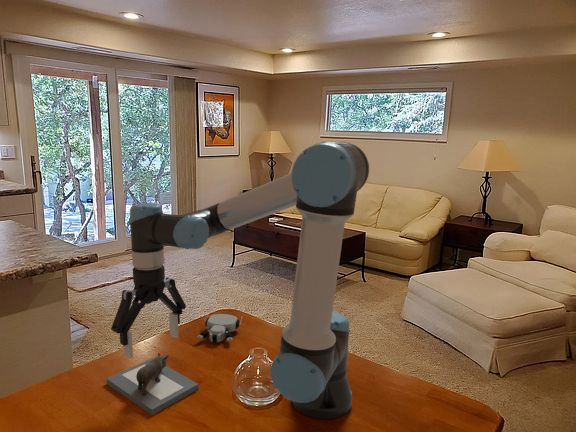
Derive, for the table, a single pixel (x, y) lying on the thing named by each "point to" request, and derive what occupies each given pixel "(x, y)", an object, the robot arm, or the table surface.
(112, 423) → the table surface
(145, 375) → the rhino figurine
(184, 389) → the display plate
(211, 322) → the robot toy
